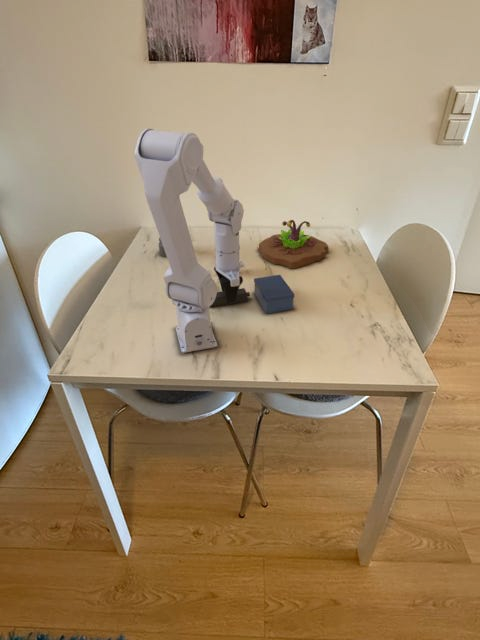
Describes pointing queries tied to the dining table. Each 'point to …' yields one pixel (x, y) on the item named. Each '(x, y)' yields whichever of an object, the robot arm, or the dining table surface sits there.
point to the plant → (293, 247)
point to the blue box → (273, 293)
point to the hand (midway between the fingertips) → (228, 296)
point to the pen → (221, 300)
